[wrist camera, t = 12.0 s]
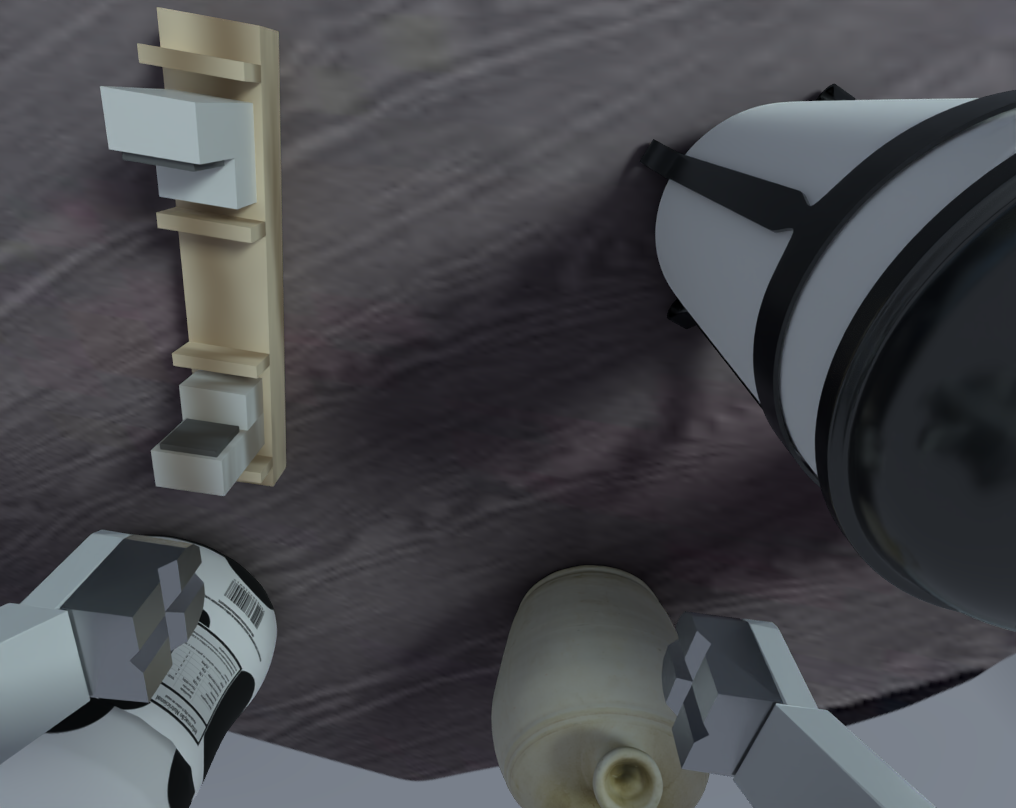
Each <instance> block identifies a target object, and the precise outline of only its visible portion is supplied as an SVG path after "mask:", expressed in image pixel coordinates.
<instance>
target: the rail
mask: <svg viewBox="0 0 1016 808" xmlns="http://www.w3.org/2000/svg"><path fill="white" fill-rule="evenodd" d="M157 15H158V25H159V35H160V46H161V47H157V46H151V45H144V44H138V43H137V47H138V56H139V63H144V64H150V65H155V66H161V67H163V76H164V87H165V89H175V90H181V91H187V92H192V93H198V94H204V95H210V96H215V97H221V98H227V99H233V100H238V101H244V102H250V103H253V114H254V141H255V167H256V194H257V202H256V203H253V204H251V205H248V206H245V207H242V208H240V209H232V208H226V207H220V206H214V205H208V204H202V203H196V202H190V201H184V200H177V199H175V200H176V207H174V208H170V209H167V210H163V211H160V212H156V216H157V225H158V228H162V229H168V230H174V231H179V242H180V252H181V262H182V273H183V283H184V293H185V304H186V314H187V324H188V334H189V342H188V343H186V344H185V345H183V346H182V347H181V348H179V349H178V350H176V351H175V352H173V353H172V358H173V366H179V367H185V368H192V375H191V376H190V377H189V378H187V379H186V380H185V381H184V382H182V383H181V384H180V385H179V390H180V399H181V408H182V417H183V421H182V422H181V423H180V424H179V425H178V426H177V427H176V428H175V429H174V430H173V431H172V432H170V433H169V434H168V435H167V436H166V437H165V438H164V439H163V440H162V441H161V442H160V443H159V444H157V445H156V446H155V447H154V448H153V449H152V450H151V455H152V462H153V469H154V476H155V483H156V486H158V487H165V488H172V489H179V490H186V491H193V492H199V493H206V494H213V495H220V496H225V495H226V494H227V492H228V491H229V490H230V488H231V487H232V486H233V484H234V483H235V482H236V481H239V482H246V483H253V484H260V485H266V486H274V485H275V483H276V482H277V480H278V479H279V477H280V476H281V474H282V473H283V471H284V470H285V468H286V428H285V370H284V312H283V254H282V197H281V139H280V81H279V31H275V30H272V29H269V28H265V27H262V26H258V25H252V24H247V23H241V22H236V21H230V20H225V19H220V18H214V17H209V16H203V15H198V14H192V13H187V12H181V11H176V10H170V9H165V8H159V7H157Z"/></svg>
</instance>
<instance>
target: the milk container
mask: <svg viewBox="0 0 1016 808" xmlns="http://www.w3.org/2000/svg"><path fill="white" fill-rule="evenodd" d="M148 537H154V538H161V539H167V540H173V541H179V542H185V543H191V544H195V545H197V546H199V547H200V554H201V560H202V563H201V564H200V566H199V567H198V569H197V570H196V572H195V573H196V575H197V576H198V577H199V578H200V579H201V580H202V581H203V582H204V588H205V598H204V607H203V610H202V613H201V616H200V619H199V621H198V624H197V627H196V628H195V630H194V632H193V633H192V635H191V636H190V638H189V640H188V641H187V642H185V643H184V644H182V645H181V646H179V647H177V648H176V649H174V650H172V651H171V656H172V664H173V665H172V667H171V668H170V670H169V672H168V673H167V675H166V676H165V678H164V679H163V681H162V683H161V684H160V686H159V687H158V689H157V690H156V692H155V694H154V695H153V697H152V698H151V700H150V701H149V703H147V702H137V701H126V700H116V699H105V698H95V697H90V701H89V702H87V703H86V704H85V705H83V706H82V707H80V708H79V709H78V710H76V711H75V712H73V713H72V714H71V715H69V716H68V717H66V718H65V719H64V720H62V721H61V722H59V723H58V724H57V725H55V726H54V727H52V728H51V729H50V730H48V731H47V732H45V733H44V734H43V735H41V736H40V737H38V738H37V739H36V740H34V741H33V742H31V743H30V744H29V745H27V746H26V747H24V748H23V749H22V750H20V751H19V752H17V753H16V754H15V755H13V756H12V757H10V758H9V759H8V760H6V761H5V762H3V763H2V764H1V765H0V808H189V806H190V804H191V802H192V801H193V799H194V798H195V797H196V795H197V794H198V792H199V790H200V788H201V786H202V784H203V781H204V779H205V777H206V775H207V772H208V770H209V768H210V765H211V763H212V761H213V759H214V756H215V754H216V752H217V750H218V748H219V746H220V743H221V741H222V740H223V738H224V736H225V734H226V733H227V731H228V730H229V728H230V727H231V726H232V724H233V723H234V722H235V721H236V719H237V718H238V717H239V716H240V714H241V713H242V712H243V711H244V710H245V708H246V707H247V706H248V705H249V703H250V702H251V701H252V699H253V698H254V697H255V695H256V694H257V692H258V690H259V689H260V687H261V685H262V683H263V681H264V679H265V677H266V674H267V672H268V670H269V667H270V664H271V660H272V657H273V653H274V649H275V644H276V638H277V624H276V617H275V611H274V608H273V606H272V603H271V601H270V600H269V598H268V596H267V594H266V592H265V590H264V589H263V587H262V586H261V585H260V583H259V582H258V581H257V580H256V579H255V578H254V577H253V576H252V575H251V574H250V573H249V572H248V571H246V570H245V569H244V568H243V567H242V566H241V565H239V564H238V563H237V562H235V561H234V560H232V559H231V558H229V557H227V556H225V555H223V554H221V553H220V552H218V551H216V550H214V549H212V548H210V547H208V546H205V545H202V544H199V543H196V542H192V541H189V540H185V539H181V538H177V537H171V536H161V535H148Z"/></svg>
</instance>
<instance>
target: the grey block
mask: <svg viewBox="0 0 1016 808" xmlns="http://www.w3.org/2000/svg"><path fill="white" fill-rule="evenodd" d="M100 90H101V97H102V103H103V110H104V117H105V124H106V131H107V138H108V145H109V149H111V150H117V151H122V157H123V160H127V161H133V162H139V163H145V164H151V165H156V171H157V180H158V189H159V197H165V198H171V199H177V200H184V201H190V202H196V203H202V204H208V205H214V206H220V207H226V208H232V209H240V208H242V207H245V206H248V205H251V204H253V203H256V202H257V194H256V167H255V141H254V114H253V103H250V102H244V101H238V100H233V99H227V98H221V97H215V96H210V95H204V94H198V93H192V92H187V91H181V90H175V89H153V88H131V87H109V86H100Z"/></svg>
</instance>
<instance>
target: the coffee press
mask: <svg viewBox="0 0 1016 808" xmlns="http://www.w3.org/2000/svg"><path fill="white" fill-rule="evenodd" d="M640 162H641V163H642V164H644V165H646V166H647V167H649V168H650V169H652V170H654V171H655V172H657V173H659V174H660V175H662V176H663V177H665V178H667V179H668V180H669V181H668V183H667V185H666V187H665V189H664V192H663V195H662V198H661V201H660V204H659V208H658V213H657V219H656V229H655V240H656V250H657V256H658V260H659V264H660V267H661V270H662V272H663V274H664V277H665V279H666V281H667V282H668V284H669V286H670V288H671V289H672V291H673V292H674V293H675V295H676V296H677V298H678V299H677V300H676V301H675V302H674V303H673V304H672V305H671V307H670V309H669V311H668V314H667V318H668V319H669V320H671V321H672V322H674V323H676V324H678V325H680V326H681V327H683V328H685V329H688V328H691V327H693V326H695V325H697V326H698V328H699V329H700V330H701V331H702V333H703V334H704V335H705V336H706V338H707V339H708V340H709V342H710V343H711V344H712V345H713V347H714V348H715V349H716V350H717V352H718V353H719V354H720V356H721V357H722V358H723V359H724V361H725V362H726V363H727V365H728V366H729V367H730V368H731V370H732V371H733V372H734V373H735V375H736V376H737V377H738V379H739V380H740V381H741V382H742V384H743V385H744V386H745V388H746V389H747V390H748V391H749V393H750V394H751V395H752V397H753V398H754V399H755V400H756V402H757V403H758V404H759V406H760V407H761V408H762V409H763V412H764V414H765V416H766V418H767V420H768V422H769V424H770V426H771V427H772V429H773V431H774V432H775V433H776V435H777V436H778V438H779V439H780V441H781V442H782V443H783V445H784V446H785V447H786V449H787V450H788V451H789V452H790V454H791V455H792V456H793V458H794V459H795V460H796V462H797V463H798V464H799V466H800V467H801V468H802V469H803V471H804V472H805V473H806V474H807V475H808V476H809V477H810V478H811V479H812V480H813V481H814V482H815V483H816V484H817V485H818V486H819V487H820V488H821V491H822V494H823V497H824V500H825V502H826V505H827V507H828V509H829V511H830V513H831V515H832V517H833V519H834V521H835V522H836V524H837V526H838V527H839V529H840V530H841V532H842V533H843V534H844V536H845V537H846V538H847V540H848V541H849V542H850V544H851V545H852V546H853V548H854V549H855V550H856V552H857V553H858V554H859V555H860V557H861V558H862V559H863V560H864V561H865V562H866V563H867V564H868V565H869V566H870V567H871V568H872V569H873V570H874V571H875V572H877V573H878V574H879V575H880V576H881V577H883V578H884V579H885V580H887V581H888V582H890V583H891V584H893V585H894V586H896V587H897V588H899V589H901V590H902V591H904V592H906V593H908V594H910V595H912V596H914V597H916V598H918V599H921V600H923V601H925V602H928V603H931V604H933V605H936V606H939V607H942V608H946V609H949V610H953V611H957V612H961V613H963V614H965V615H968V616H970V617H972V618H975V619H977V620H980V621H982V622H985V623H988V624H991V625H994V626H997V627H1000V628H1004V629H1007V630H1011V631H1015V632H1016V90H1012V91H1006V92H1002V93H997V94H993V95H989V96H985V97H982V98H962V99H899V100H855V98H854V97H853V96H851V95H850V94H849V93H847V92H846V91H844V90H843V89H842V88H840V87H839V86H837V85H836V84H832V85H830V86H829V87H827V88H826V89H825V90H824V91H823V92H822V93H821V94H820V96H819V97H818V98H817V100H816V101H798V102H781V103H773V104H767V105H762V106H758V107H755V108H751V109H748V110H746V111H743V112H741V113H738V114H736V115H734V116H732V117H730V118H728V119H726V120H725V121H723V122H721V123H720V124H718V125H717V126H715V127H714V128H712V129H711V130H710V131H709V132H707V133H706V134H705V135H704V136H702V137H701V138H700V139H699V140H698V141H697V142H696V143H695V144H694V145H693V146H692V147H691V148H690V149H689V151H688V152H687V153H686V154H685V155H684V154H681V153H678V152H676V151H674V150H673V149H671V148H669V147H667V146H665V145H663V144H662V143H660V142H658V141H656V140H654V139H653V140H652V142H651V144H650V145H649V147H648V149H647V150H646V152H645V154H644V155H643V157H642V158H641V160H640Z"/></svg>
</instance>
